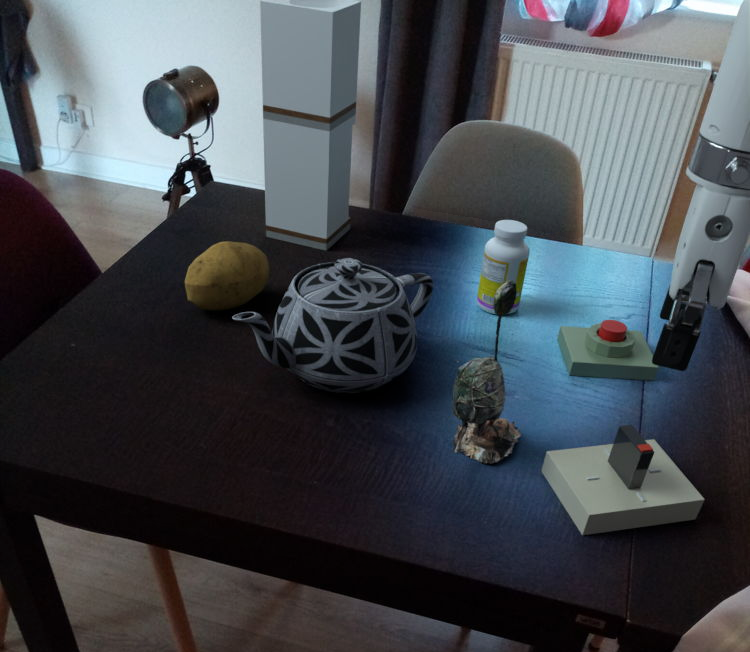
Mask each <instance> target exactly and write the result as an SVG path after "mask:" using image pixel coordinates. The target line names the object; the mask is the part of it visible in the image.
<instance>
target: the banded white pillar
mask: <svg viewBox="0 0 750 652" xmlns="http://www.w3.org/2000/svg"><path fill="white" fill-rule="evenodd" d="M259 9H260V11H259V12H260V45H261V50H260V51H261V86H262V87H261V88H262V91H261V92H262V125H263V126H262V128H263V129H262V131H263V167H264V168H263V170H264V206H265V207H264V208H265V211H264V212H265V237H267V238H270V239H274V240H279V241H283V242H286V243H287V242H288V243H292V244H296V245H299V246H304V247H309V248H312V249H318V250H321V251H325V252H327V251H328V250H329V249H330V248H331V247H332V246H333V245H334V244H335V243H337V242H338V241H339V240H340V239H341V238H342V237H343V236H344V235H345V234H346V233H348V231H350V230H351V223H352V222H351V219H352V218H351V217H350V216H349V212H350V189H351V171H352V170H351V167H352V150H353V149H352V147H353V146H352V144H353V126H354V125H355V124H356V118H357V117H356V115H357V96H358V94H357V93H358V78H359V77H358V76H359V75H358V74H359V56H360V37H361V36H360V35H361V33H360V32H361V14H362V13H361V11H362V1H361V0H289V3H285V2H280V1H279V2H278V1H272V0H259Z"/></svg>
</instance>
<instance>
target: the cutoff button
mask: <svg viewBox="0 0 750 652" xmlns="http://www.w3.org/2000/svg"><path fill="white" fill-rule="evenodd" d="M600 323H601V326H600V329H599V333H598V336H599V337H600V338H602V339H603V340H606V341H609V342H618V343H619V342H622V341H623V340H624V338H625V334H626V331H627V330H628V326H627V325H626V324H625V323H624V322H621V321H619V320H616V319H604V320H602V321H601V322H600Z"/></svg>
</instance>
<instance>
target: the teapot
mask: <svg viewBox="0 0 750 652" xmlns="http://www.w3.org/2000/svg"><path fill="white" fill-rule="evenodd" d="M414 285H419V287H418V291H417V293H416V295H415V297H414V299H413V300H412V302H411V304H410V302H409V299H408V297H407V295H406V292H405V290H404V288H407V287H410V286H414ZM433 290H434V281H433V278H432V277H431V276H430V275H428V274H426V273H423V272H415V273H409V274H408V273H407V274H404V275H400V276H396V277H395V275H393V274H391V273H389V272H388V271H387V270H384V269H383V268H380V267H378V266H374V265H371V264H366V263H363V262H361V261H360V260H358V259H356V258H353V257H343V258H339V259H337V260H336V261H330V262H323V263H318V264H315V265H311V266H308V267H306V268H304V269H302V270H301V271H300V272H298V273H297V274H296V275H295V276H294V277H293V278H292V280H291V282H290V284H289V285H288V287H287V290H286V291H285V293H284V296H283V297H282V300H281V302H280V303H279V306H278V308H277V312H276V314H275V317H274V320H273V324H272V330H271V328H270V326H269V324H268V321H267V320H266V319H265V318H264V316H263V315H261V314H260V313H259V312H255V311H245V312H239V313H237V314H234V315H233V316H232V317H231V318H232V320H234V321H237V322H242V323H245V324H247V325H248V326H249V327H251V329H252V331H253V334H254V336H255V339H256V343H257V346H258V348H259V351H260V353H261V354H262V356H263V357H264V358H265V359H266V360H267V361H268V362H269V363H270V364H272V365H274V366H275V367H278V368H282V369H287V370H288V371H289V372H290V373H291V374H293V375H294V376H295V377H296V378H299V379H300V380H301V381H303V382H304V383H305V384H307V385H309V386H311V387H314V388H315V389H319V390H322V391H325V392H331V393H337V394H356V393H357V394H359V393H363V392H369V391H371V390H376V389H378V388H380V387H382V386H384V385H386V384H387V383H389V382H391V381H392V380H394V379H396V378H397V377H399V376H401V375H402V374H403V373H404V372H405V371H406V370H407V369H408V368H409V366H410V365H411V364H412V362H413V361H414V358H415V357H416V353H417V349H418V330H417V325H416V319H417V318H419V316H420V315H421V314H422V313H423V311H424V309H425V308H426V307H427V305H428V303H429V301H430V300H431V297H432V294H433Z"/></svg>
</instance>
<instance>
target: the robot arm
mask: <svg viewBox="0 0 750 652" xmlns="http://www.w3.org/2000/svg"><path fill="white" fill-rule="evenodd" d="M685 175H686V176H687V177H688V178H689V180H691V181H692V182H694V183H695V184H696V185H695V188H694V190H693V194H692V198H691V200H690V203H689V206H688V210H687V212H686V215H685V219H684V221H683V224H682V228H681V230H680V231H681V232H680V235H679V239H678V243H677V246H676V250H675V255H674V259H673V266H672V270H671V275H670V276H671V277H670V283H669V287H668V288H667V292H666V295H665V297H664V300H663V303H662V304H663V305H662V306H661V310H660V312H659V318H660V319H661V320H665V321H668V322H667V323H664V324H663V326H662V329H661V332H660V335H659V338H658V341H657V344H656V346H655V349H654V351H653V354H652V355H653V358H652V363H653V364H654V365H658V367H662V368H666V369H671V370H676V371H679V372H684V371H686V370H688V367H689V364H690V362H691V359H692V356H693V354H694V351H695V349H696V346H697V343H698V341H699V338H700V336H701V330H702V329H701V328H702V326H703V321H704V319H705V315H706V312H707V308H708V306H710V307H713V308H714V309H715V310H717V311H718V310H721V309H722V308H724V307H725V305H726V302H727V299H728V296H729V294H730V291H731V288H732V285H733V282H734V279H735V277H736V274H737V271H738V268H739V267H740V263H741V260H742V257H743V255H744V252H745V249H746V247H747V244H748V241H749V238H750V0H743V1H742V2H741V4H740V6H739V9H738V12H737V14H736V16H735V20H734V23H733V26H732V28H731V32H730V35H729V39H728V41H727V45H726V47H725V50H724V54H723V56H722V60H721V62H720V66H719V69H718V72H717V75H716V78H715V81H714V85H713V87H712V90H711V94H710V97H709V100H708V102H707V106H706V109H705V113H704V115H703V118H702V121H701V123H700V128H699V131H698V134H697V137H696V140H695V143H694V145H693V149H692V151H691V155H690V158H689V161H688V164H687V167H686V169H685Z"/></svg>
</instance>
